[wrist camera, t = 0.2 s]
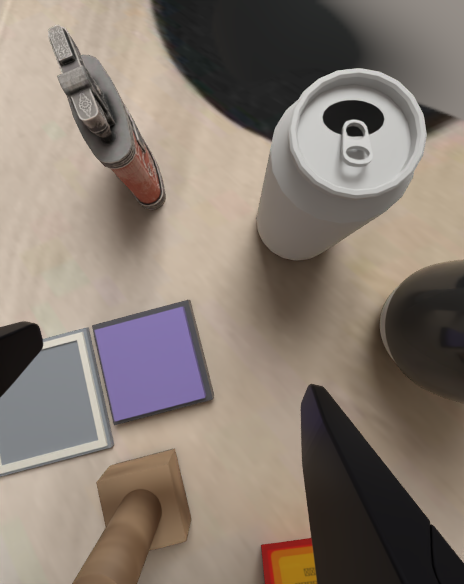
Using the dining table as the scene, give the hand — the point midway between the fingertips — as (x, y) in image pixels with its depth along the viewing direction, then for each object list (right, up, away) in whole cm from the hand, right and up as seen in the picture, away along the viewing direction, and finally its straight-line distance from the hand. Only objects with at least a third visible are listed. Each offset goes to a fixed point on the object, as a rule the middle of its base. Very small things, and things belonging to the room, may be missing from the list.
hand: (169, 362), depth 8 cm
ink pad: (-5, -4, +14) cm, 16 cm away
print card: (-15, -8, +14) cm, 22 cm away
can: (+8, +9, +15) cm, 19 cm away
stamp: (-5, -15, +14) cm, 21 cm away
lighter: (-7, +14, +16) cm, 22 cm away
